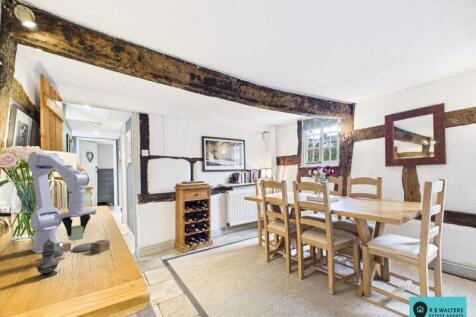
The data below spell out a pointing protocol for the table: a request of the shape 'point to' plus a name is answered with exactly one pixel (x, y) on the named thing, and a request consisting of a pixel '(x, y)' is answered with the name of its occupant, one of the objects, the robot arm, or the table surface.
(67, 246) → the terracotta block
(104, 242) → the walnut block
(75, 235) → the sage block
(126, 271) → the table surface
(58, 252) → the grey tin
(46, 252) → the dark grey tall piece
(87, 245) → the coaster
